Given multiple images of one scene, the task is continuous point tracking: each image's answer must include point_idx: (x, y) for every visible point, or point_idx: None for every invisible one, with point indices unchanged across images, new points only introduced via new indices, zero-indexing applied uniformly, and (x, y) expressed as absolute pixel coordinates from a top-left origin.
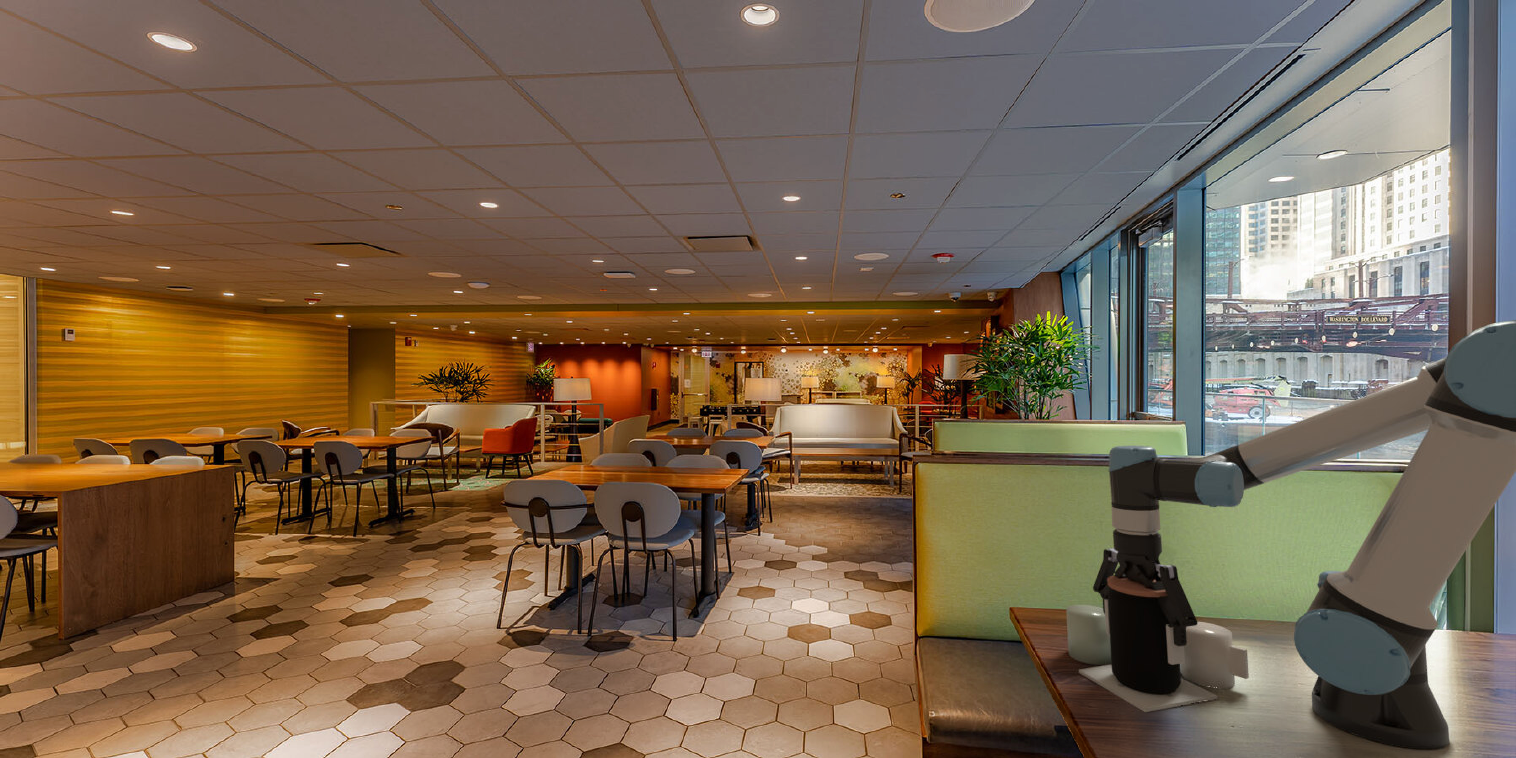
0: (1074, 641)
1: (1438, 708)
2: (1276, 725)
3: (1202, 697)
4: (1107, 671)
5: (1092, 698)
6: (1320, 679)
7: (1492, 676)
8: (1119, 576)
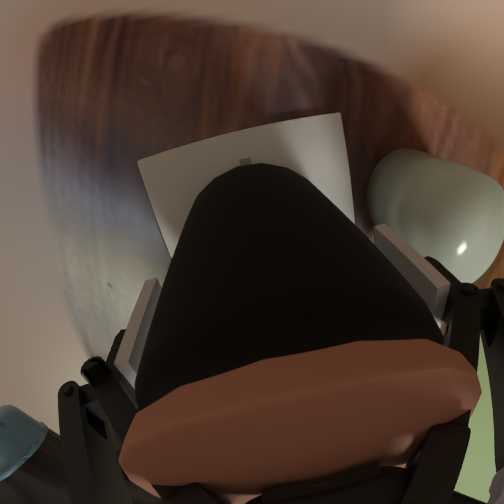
0: (423, 156)
1: None
2: None
3: None
4: (321, 175)
5: (204, 73)
6: None
7: None
8: (427, 443)
